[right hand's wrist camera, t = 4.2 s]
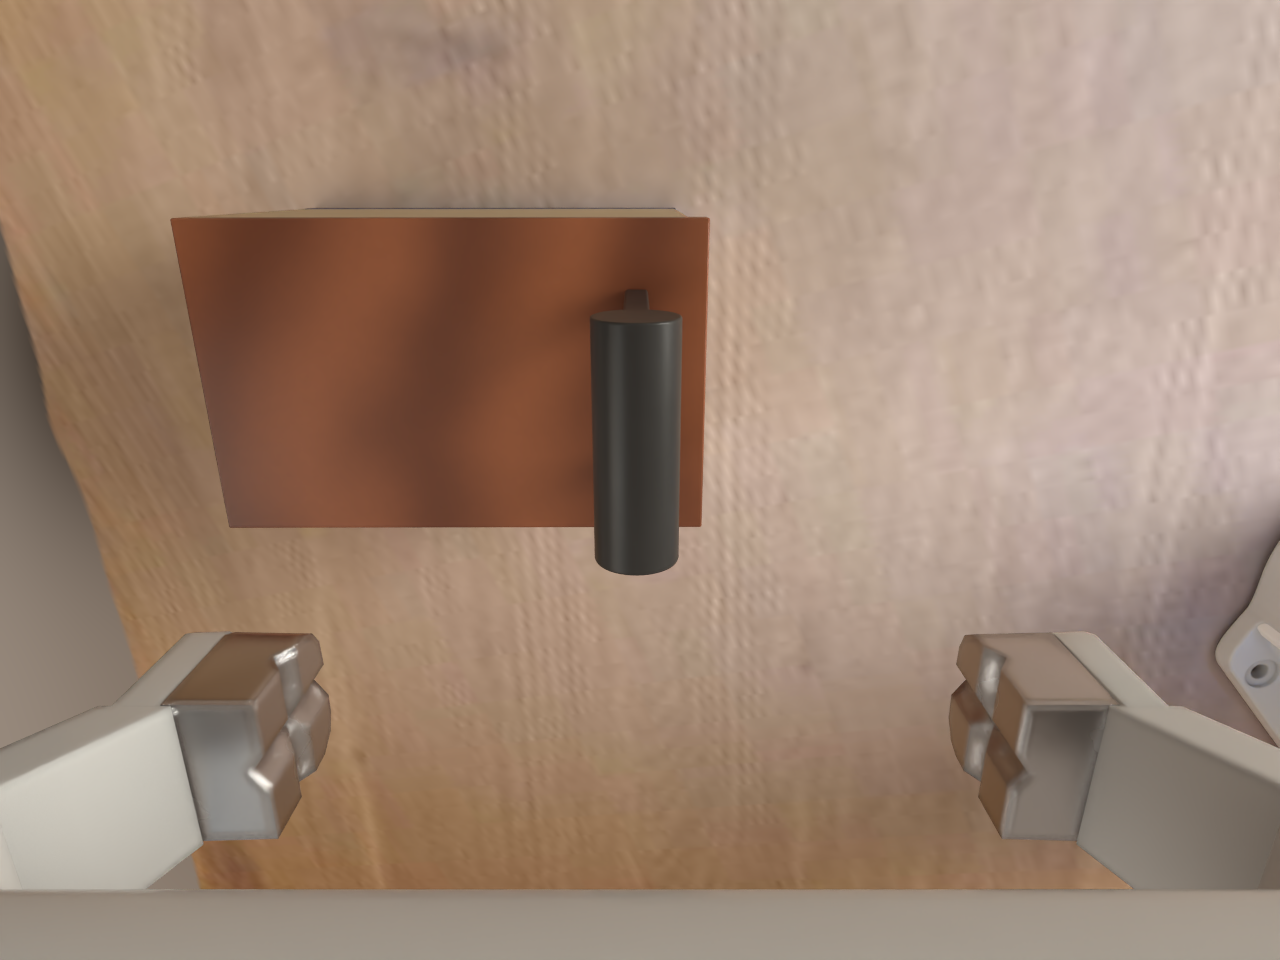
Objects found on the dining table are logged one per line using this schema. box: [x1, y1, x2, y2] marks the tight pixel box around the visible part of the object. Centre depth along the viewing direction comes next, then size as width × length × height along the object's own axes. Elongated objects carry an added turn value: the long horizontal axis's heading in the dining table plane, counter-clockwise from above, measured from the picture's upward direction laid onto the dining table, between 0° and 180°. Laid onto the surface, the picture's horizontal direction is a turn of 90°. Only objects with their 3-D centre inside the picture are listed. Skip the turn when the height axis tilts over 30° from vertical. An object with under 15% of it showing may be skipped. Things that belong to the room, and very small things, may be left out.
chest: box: [198, 208, 687, 217], centre depth 31 cm, size 16×10×10 cm, turn 90°
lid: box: [171, 217, 710, 575], centre depth 23 cm, size 16×10×8 cm, turn 90°
